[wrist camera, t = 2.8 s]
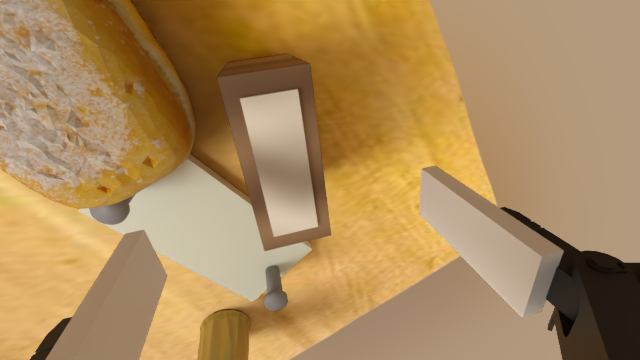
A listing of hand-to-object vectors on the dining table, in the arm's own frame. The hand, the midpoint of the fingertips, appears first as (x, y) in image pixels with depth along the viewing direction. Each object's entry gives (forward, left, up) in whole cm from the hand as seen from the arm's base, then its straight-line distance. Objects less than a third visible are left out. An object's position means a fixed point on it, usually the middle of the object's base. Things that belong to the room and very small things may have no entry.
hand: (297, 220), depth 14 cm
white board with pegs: (+12, +3, -15) cm, 19 cm away
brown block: (0, 0, -15) cm, 15 cm away
